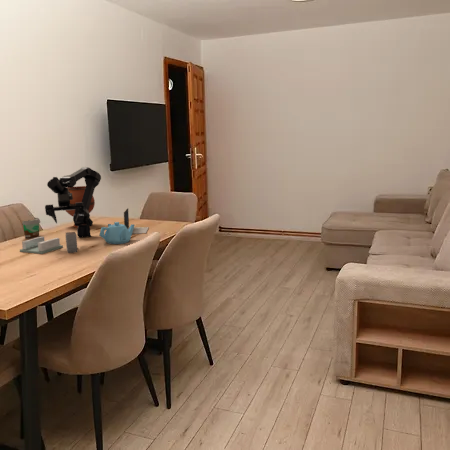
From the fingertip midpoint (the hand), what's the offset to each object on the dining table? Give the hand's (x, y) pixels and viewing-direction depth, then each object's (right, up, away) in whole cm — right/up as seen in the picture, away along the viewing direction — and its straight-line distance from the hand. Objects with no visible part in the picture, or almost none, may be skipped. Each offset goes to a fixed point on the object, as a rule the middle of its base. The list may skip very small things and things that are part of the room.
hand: (66, 222), depth 241 cm
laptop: (+28, -6, +44) cm, 53 cm away
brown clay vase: (-11, -3, +61) cm, 62 cm away
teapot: (+23, -11, +16) cm, 30 cm away
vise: (-12, -14, -1) cm, 18 cm away
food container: (-28, -8, +31) cm, 42 cm away
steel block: (+5, -14, -5) cm, 16 cm away
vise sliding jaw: (-18, -12, +1) cm, 22 cm away
